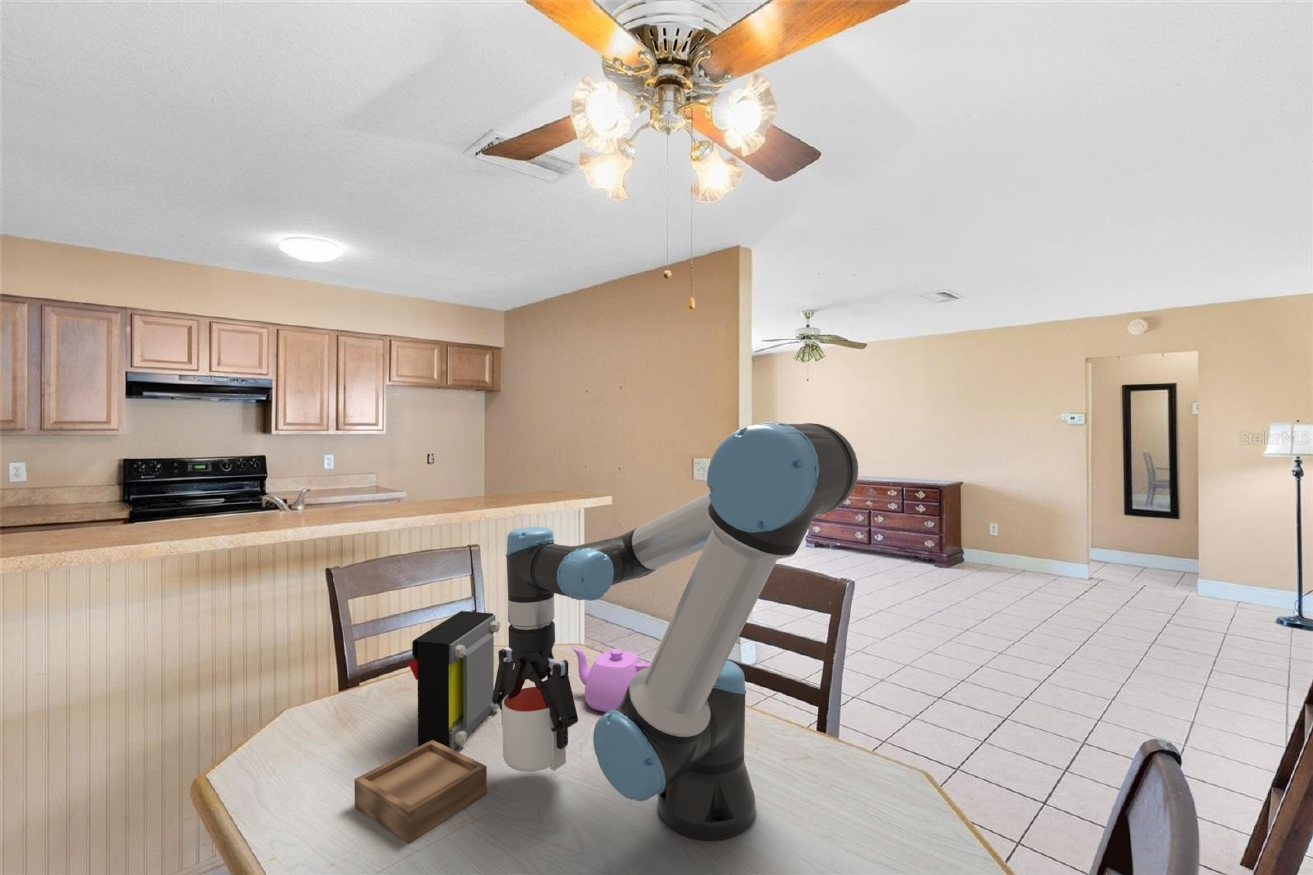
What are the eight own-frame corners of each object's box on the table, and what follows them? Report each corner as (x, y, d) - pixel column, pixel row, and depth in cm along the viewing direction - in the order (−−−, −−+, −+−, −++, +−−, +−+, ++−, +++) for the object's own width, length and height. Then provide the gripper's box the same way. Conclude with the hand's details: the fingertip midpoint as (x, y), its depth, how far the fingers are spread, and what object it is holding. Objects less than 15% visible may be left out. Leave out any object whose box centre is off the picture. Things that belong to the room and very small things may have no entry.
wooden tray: (486, 793, 98) (486, 766, 98) (408, 843, 87) (408, 812, 86) (432, 765, 106) (432, 739, 106) (354, 807, 94) (354, 779, 94)
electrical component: (459, 754, 109) (459, 645, 109) (408, 748, 111) (407, 640, 111) (503, 709, 127) (503, 614, 126) (458, 704, 129) (458, 610, 128)
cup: (545, 737, 107) (544, 680, 107) (576, 759, 100) (575, 699, 100) (492, 757, 101) (491, 697, 101) (521, 783, 93) (519, 718, 93)
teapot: (583, 682, 140) (583, 634, 140) (666, 694, 134) (667, 644, 134) (557, 708, 127) (557, 656, 127) (647, 723, 121) (648, 668, 121)
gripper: (599, 627, 97) (602, 766, 97) (502, 606, 109) (504, 729, 110) (567, 641, 91) (570, 789, 91) (468, 617, 103) (470, 747, 103)
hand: (534, 756), depth 100 cm, fingers closed on cup, 10 cm apart
